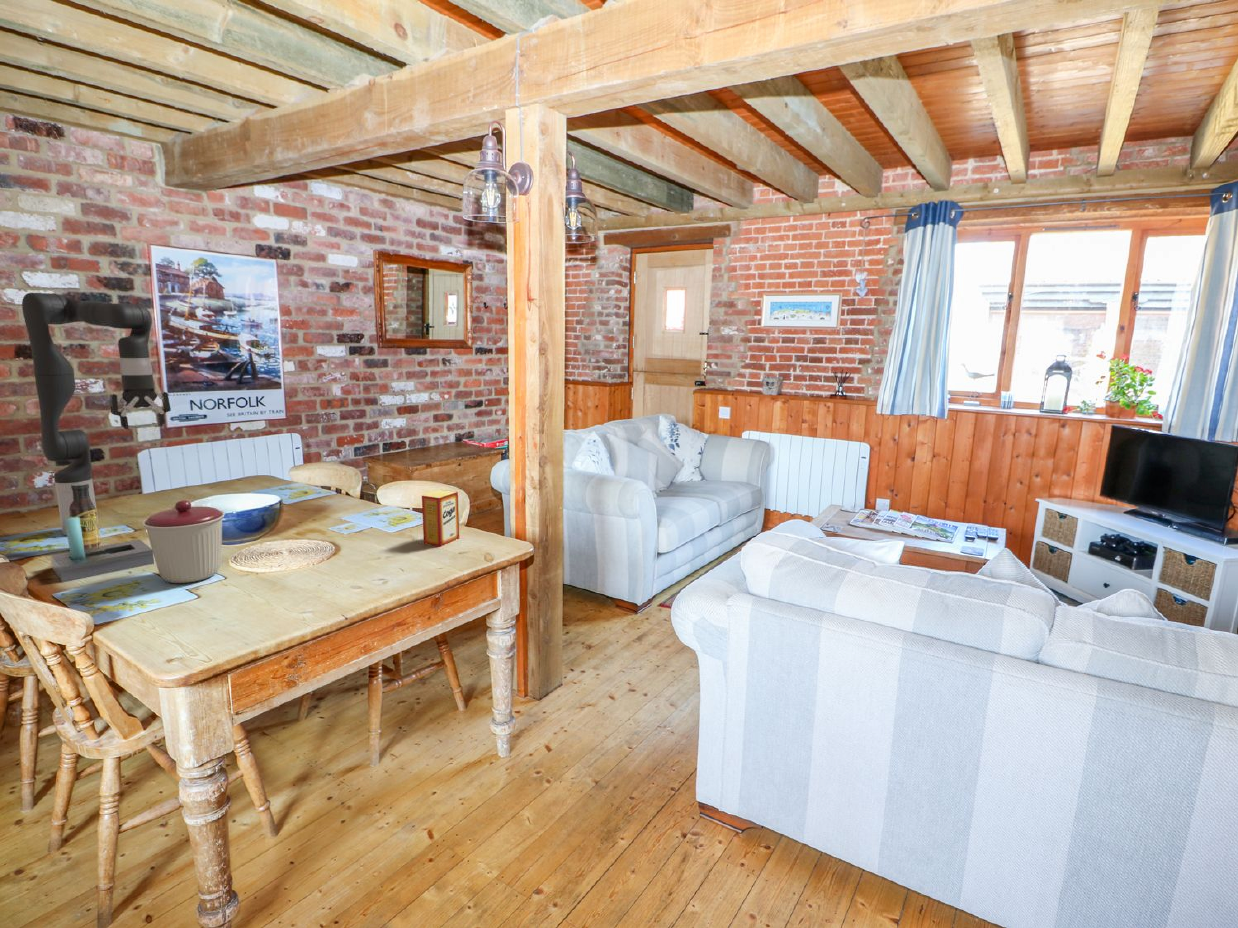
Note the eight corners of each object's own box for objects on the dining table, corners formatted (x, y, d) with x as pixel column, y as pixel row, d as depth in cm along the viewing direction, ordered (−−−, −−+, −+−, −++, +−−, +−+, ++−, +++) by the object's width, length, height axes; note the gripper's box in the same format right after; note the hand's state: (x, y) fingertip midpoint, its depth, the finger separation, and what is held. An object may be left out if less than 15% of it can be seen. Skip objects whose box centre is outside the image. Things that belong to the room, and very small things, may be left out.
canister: (173, 594, 161) (163, 513, 157) (136, 580, 170) (125, 503, 166) (244, 572, 177) (237, 498, 172) (207, 560, 185) (199, 489, 181)
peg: (67, 570, 176) (59, 518, 173) (89, 566, 179) (81, 515, 176) (70, 575, 173) (62, 522, 170) (92, 570, 176) (84, 518, 173)
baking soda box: (443, 535, 212) (441, 488, 209) (459, 538, 210) (457, 490, 206) (423, 543, 204) (421, 494, 200) (440, 546, 201) (438, 497, 198)
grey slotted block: (53, 568, 177) (50, 555, 176) (141, 551, 192) (139, 539, 191) (62, 582, 168) (60, 567, 167) (154, 563, 182) (152, 549, 182)
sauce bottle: (85, 552, 190) (75, 487, 186) (68, 550, 191) (58, 485, 188) (106, 545, 196) (97, 482, 193) (90, 544, 198) (80, 481, 194)
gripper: (161, 372, 198) (168, 424, 201) (103, 373, 188) (111, 428, 191) (168, 373, 193) (175, 426, 196) (109, 374, 183) (117, 431, 186)
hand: (143, 427), depth 194 cm, fingers open, 8 cm apart
